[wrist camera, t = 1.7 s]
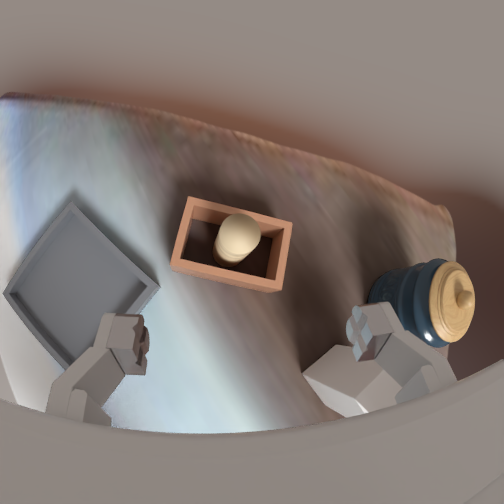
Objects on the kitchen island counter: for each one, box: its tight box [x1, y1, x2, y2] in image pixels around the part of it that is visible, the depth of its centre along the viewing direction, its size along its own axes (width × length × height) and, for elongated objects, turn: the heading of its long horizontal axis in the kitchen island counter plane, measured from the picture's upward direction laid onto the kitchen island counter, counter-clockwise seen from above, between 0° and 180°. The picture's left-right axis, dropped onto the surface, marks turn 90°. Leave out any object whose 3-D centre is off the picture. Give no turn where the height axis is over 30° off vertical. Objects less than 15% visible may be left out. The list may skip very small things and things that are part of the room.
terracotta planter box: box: [170, 196, 293, 293], centre depth 38 cm, size 9×14×6 cm, turn 79°
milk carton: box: [302, 345, 402, 418], centre depth 31 cm, size 7×7×19 cm
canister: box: [368, 258, 475, 348], centre depth 36 cm, size 13×13×18 cm
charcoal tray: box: [3, 201, 160, 370], centre depth 33 cm, size 18×18×3 cm
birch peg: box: [212, 213, 261, 267], centre depth 36 cm, size 4×4×10 cm
